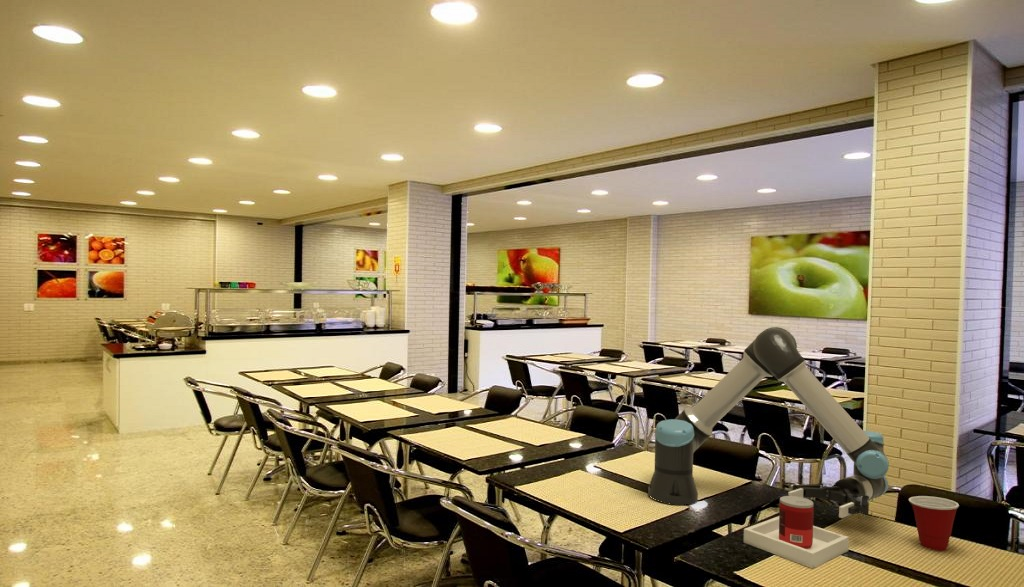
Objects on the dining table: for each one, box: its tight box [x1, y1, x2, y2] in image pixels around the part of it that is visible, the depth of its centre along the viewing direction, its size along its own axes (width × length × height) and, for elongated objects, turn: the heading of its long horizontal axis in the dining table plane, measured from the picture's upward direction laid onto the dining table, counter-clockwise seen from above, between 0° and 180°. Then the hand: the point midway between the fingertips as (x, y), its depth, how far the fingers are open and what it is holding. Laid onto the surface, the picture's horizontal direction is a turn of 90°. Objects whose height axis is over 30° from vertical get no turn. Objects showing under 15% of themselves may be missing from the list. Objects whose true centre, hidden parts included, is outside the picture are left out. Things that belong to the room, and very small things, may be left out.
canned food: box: [778, 495, 815, 549], centre depth 156 cm, size 8×8×11 cm
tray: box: [743, 515, 850, 569], centre depth 156 cm, size 18×18×4 cm
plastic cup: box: [908, 495, 960, 552], centre depth 159 cm, size 11×11×12 cm
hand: (814, 504), depth 162 cm, fingers open, 13 cm apart
